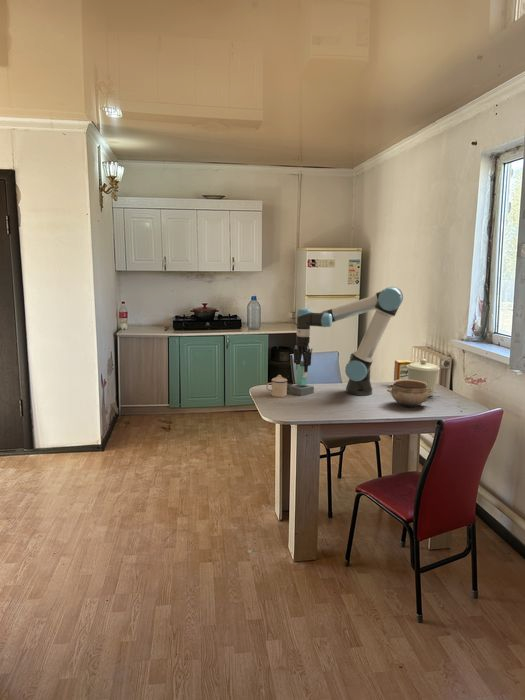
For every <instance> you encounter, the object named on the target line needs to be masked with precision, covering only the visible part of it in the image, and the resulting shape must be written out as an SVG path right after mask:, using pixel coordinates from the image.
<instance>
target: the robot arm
mask: <svg viewBox="0 0 525 700" xmlns="http://www.w3.org/2000/svg"><path fill="white" fill-rule="evenodd" d="M403 300H404V294H403V292H402V291H401V289H400V288H398V287H396V286H389V287H385V288H384V289H382V290H380V291H379V292H375V294H374V295H371V296H368V297H365V298H362V299H359V300H356V301H351V302H349V303H346V304H343V305H340V306H336V307H334V308H330V309H328V310H323V311H322V312H312V311H311V308H306V307H305V308H304V307H303V308H298V309H297V311H296V312H297V315H296V337H295V342H296V345H293V347H292V348H293V364H295V365H296V366H295V367H296V371H297V365H300V361H303V362H304V366H303V377H302V378H305V377H307V376H308V370H309V368H308V367H309V366H312V365H311V364H312V352H313V348H311V347H310V346H309V344H310V340H311V339H310V335H311V327H321V328H330V327H331V326H332V323H335V322H338V321H341V320H344V319H348V318H351V317H354V316H357V315H361V314H364V313H365V314H366V313H368V312H370V311H374V310H375V312H374V314H373V316H372V318H371V319H370V323H369V325H368V327H367V329H366V331H365V333H364V336H363V337H362V340H361V341H360V344H359V346H358V348H357V350H356V351H353V352H352V353H350V356H349V361H348V363H347V364H346V365H345V370H344V372H345V375H346V376H347V378H348V382H347V384H346V387H345V392H346V393H347V394H348V395H353V396H370V395H372V394H373V387H372V384H371V383H372V382H371V366H372V364H373V362H374V361H373V358H372V357H373V356H374V354H375V352H376V349H377V347H378V345H379V342H380V340H381V339H382V337H383V334H384V333H385V330H386V329H387V326H388V324H389V322H390V320H391V318H393V317H396V315H397V313H398V310H399V307H400V306H401V304H403ZM302 359H303V360H302Z"/></svg>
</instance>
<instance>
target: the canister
mask: <svg viewBox="0 0 525 700" xmlns="http://www.w3.org/2000/svg"><path fill="white" fill-rule="evenodd" d="M407 368H408V379H410V380H418V381H423V382H425V383H427V384H428V385H427V389H430V388H431V389H432V391H431V392H430V393H428V398H429V397H432V396H433V395H434V393H435V391H436V385H437V381H438V380H437V379H438V375H439V370H440V369H441V368H440V367H439V366H438V365H436V364H434V363H429V362H428V360H427V359H425V358H421V359H420V361H418V362H414V363H410V364H409V365H407ZM429 391H430V390H429Z"/></svg>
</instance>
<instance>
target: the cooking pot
mask: <svg viewBox="0 0 525 700" xmlns="http://www.w3.org/2000/svg"><path fill="white" fill-rule="evenodd" d="M392 383H393V384H394V385H392V387H391V389H387V390H386V392H389V393H390V394H391V397H392V399H393V400H395V401H396V402H397V403H398V404H400V405H401V406H403V407H406V408H415V407H417V406H419V405H421V404H423V403H425V402H426V401H427V400H428V398H429V397H428V393H430V392H431V391H432V389H431V388H430V389H427V385H428V384H427V383H425V382H423V381H418V380H410V379H400V380H395V381H394V380H393V381H392ZM429 390H430V391H429Z"/></svg>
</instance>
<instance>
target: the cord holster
mask: <svg viewBox="0 0 525 700" xmlns="http://www.w3.org/2000/svg"><path fill="white" fill-rule="evenodd" d="M290 385H295V384H294V383H287V392H289V386H290Z"/></svg>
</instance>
